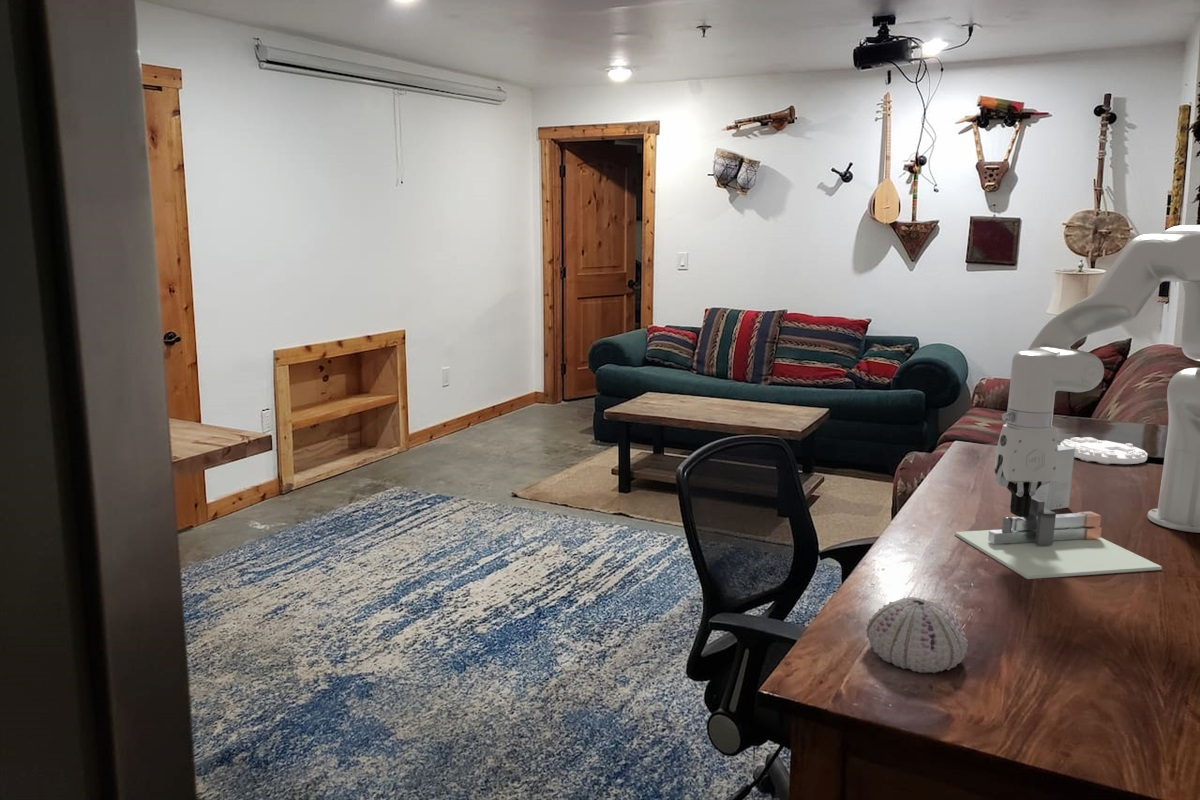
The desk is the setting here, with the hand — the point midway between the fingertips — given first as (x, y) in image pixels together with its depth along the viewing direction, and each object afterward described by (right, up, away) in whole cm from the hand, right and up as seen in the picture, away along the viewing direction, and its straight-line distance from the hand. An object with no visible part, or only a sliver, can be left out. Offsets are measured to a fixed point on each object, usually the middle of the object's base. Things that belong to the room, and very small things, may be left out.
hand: (1019, 514), depth 165 cm
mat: (+5, -7, -2) cm, 9 cm away
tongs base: (+5, -6, +2) cm, 8 cm away
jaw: (+8, -2, +2) cm, 8 cm away
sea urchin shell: (-34, -15, -42) cm, 56 cm away
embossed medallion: (+54, +6, +68) cm, 86 cm away
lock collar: (+4, -6, +2) cm, 7 cm away
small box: (+17, -1, +26) cm, 31 cm away
